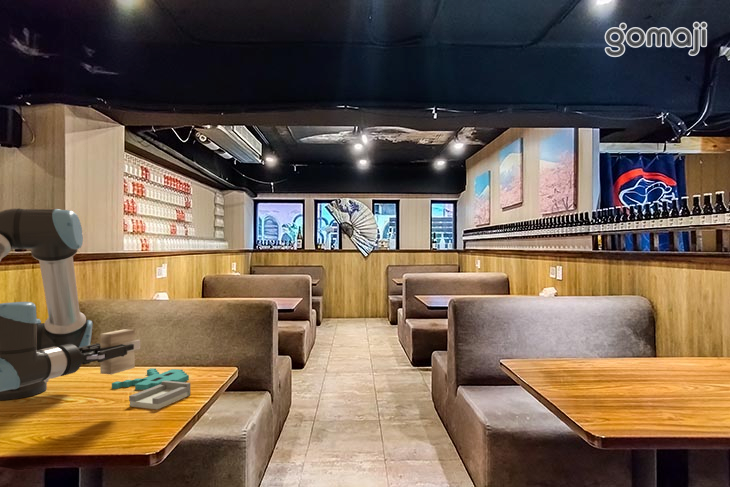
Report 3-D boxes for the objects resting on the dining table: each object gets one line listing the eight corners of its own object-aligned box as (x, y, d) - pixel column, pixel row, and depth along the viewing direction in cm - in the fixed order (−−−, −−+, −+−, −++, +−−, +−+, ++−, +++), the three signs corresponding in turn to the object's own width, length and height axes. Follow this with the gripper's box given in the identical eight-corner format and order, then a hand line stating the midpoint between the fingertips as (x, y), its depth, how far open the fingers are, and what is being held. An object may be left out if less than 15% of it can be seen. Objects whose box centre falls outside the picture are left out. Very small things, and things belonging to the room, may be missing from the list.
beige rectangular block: (100, 373, 129) (100, 333, 129) (124, 366, 136) (124, 329, 136) (111, 374, 127) (111, 334, 127) (134, 367, 135) (134, 329, 135)
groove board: (129, 406, 135) (129, 393, 135) (164, 392, 149) (164, 380, 149) (158, 409, 132) (158, 396, 132) (191, 395, 145) (191, 382, 145)
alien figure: (111, 389, 154) (165, 392, 150) (111, 383, 154) (165, 385, 150) (150, 374, 174) (199, 376, 170) (150, 368, 174) (199, 370, 170)
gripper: (33, 374, 118) (111, 354, 140) (82, 379, 112) (156, 358, 134) (33, 344, 118) (111, 330, 140) (82, 348, 112) (156, 332, 134)
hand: (133, 343), depth 137 cm, fingers closed on beige rectangular block, 4 cm apart
